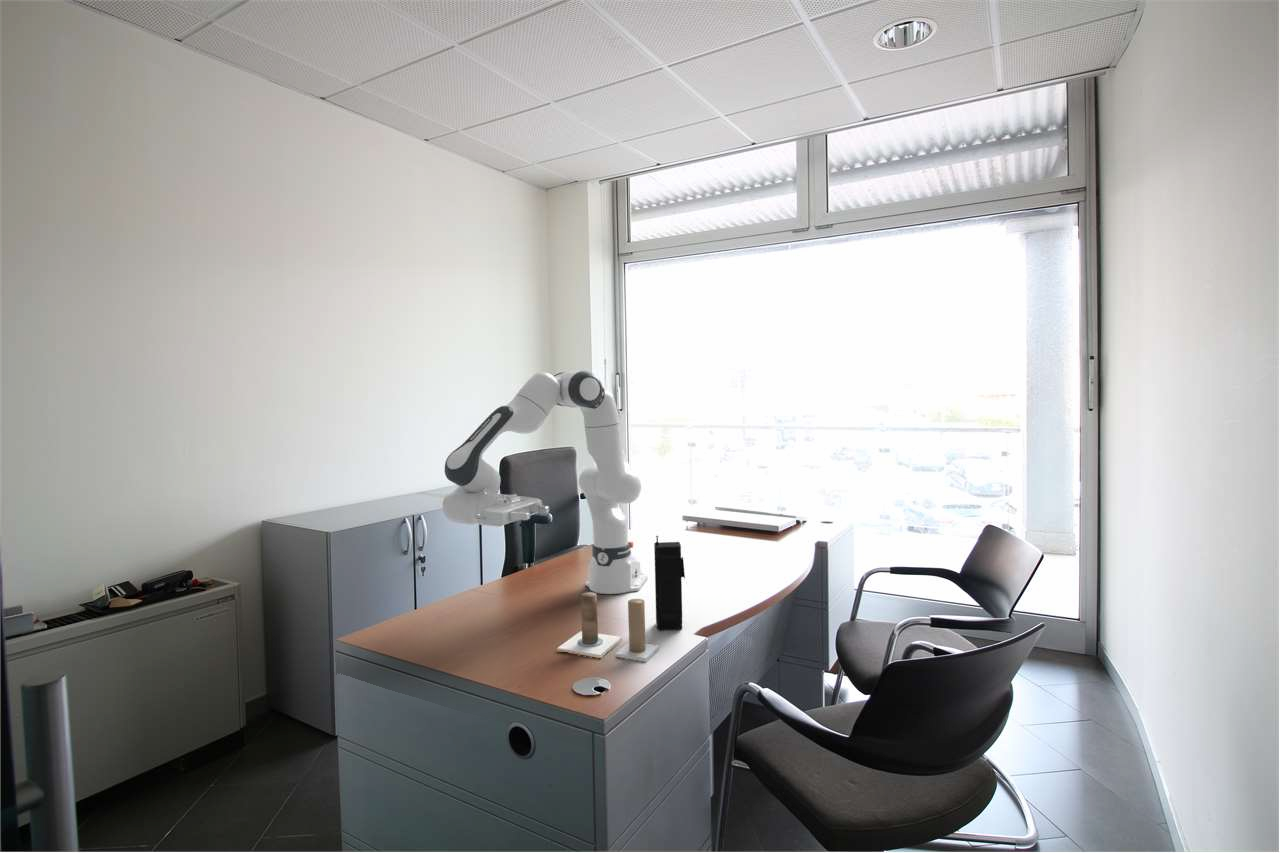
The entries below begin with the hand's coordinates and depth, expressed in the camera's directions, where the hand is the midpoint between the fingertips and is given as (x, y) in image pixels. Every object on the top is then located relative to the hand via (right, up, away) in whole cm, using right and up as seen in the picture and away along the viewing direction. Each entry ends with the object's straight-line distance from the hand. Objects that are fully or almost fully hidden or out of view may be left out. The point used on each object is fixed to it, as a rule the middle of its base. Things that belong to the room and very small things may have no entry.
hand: (538, 513), depth 180 cm
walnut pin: (+14, -31, -9) cm, 36 cm away
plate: (+14, -32, -9) cm, 37 cm away
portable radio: (+35, -31, +3) cm, 47 cm away
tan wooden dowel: (+26, -32, -14) cm, 44 cm away
